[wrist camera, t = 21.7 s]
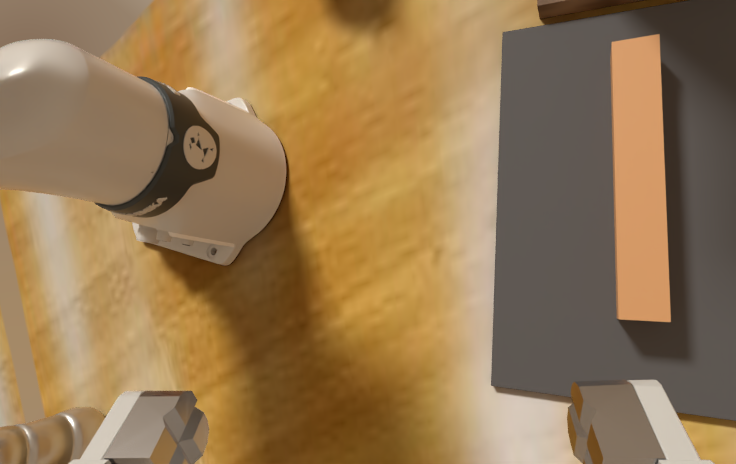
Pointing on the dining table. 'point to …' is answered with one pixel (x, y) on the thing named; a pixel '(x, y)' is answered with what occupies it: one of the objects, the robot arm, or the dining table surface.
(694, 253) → the rubber mat
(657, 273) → the orange square bar
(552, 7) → the walnut stand
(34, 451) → the plastic bottle
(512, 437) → the dining table surface
